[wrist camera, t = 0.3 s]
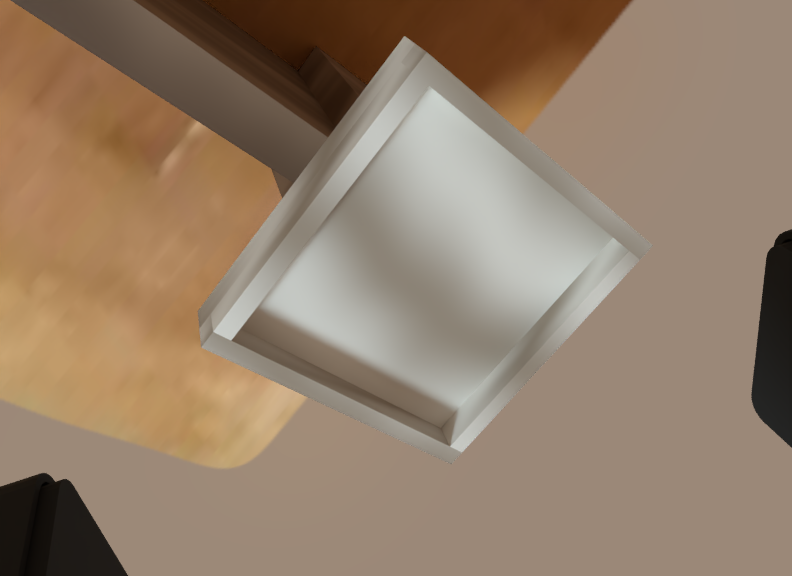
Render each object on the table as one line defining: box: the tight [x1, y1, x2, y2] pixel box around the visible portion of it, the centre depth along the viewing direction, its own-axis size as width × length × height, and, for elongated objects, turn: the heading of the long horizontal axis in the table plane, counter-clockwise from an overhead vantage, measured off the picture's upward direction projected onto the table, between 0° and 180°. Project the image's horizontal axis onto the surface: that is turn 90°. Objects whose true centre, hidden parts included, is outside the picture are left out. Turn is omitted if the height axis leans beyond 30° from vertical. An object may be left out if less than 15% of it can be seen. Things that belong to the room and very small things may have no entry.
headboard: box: [11, 0, 652, 464], centre depth 25 cm, size 10×25×22 cm, turn 50°
